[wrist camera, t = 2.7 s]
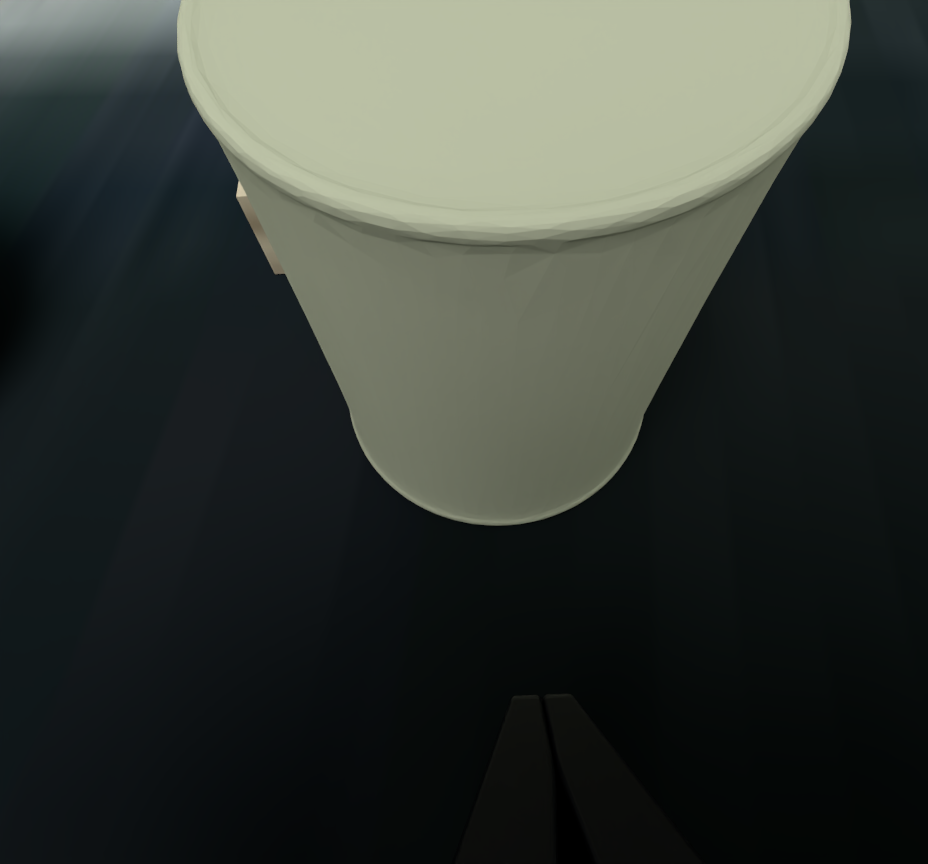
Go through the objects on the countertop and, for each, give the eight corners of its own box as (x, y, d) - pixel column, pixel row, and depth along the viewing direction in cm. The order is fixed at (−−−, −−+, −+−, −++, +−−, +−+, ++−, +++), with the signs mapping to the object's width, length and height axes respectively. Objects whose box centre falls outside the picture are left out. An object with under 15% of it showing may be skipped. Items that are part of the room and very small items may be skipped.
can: (560, 236, 21) (639, -268, 10) (701, 454, 17) (1067, 34, 6) (314, 324, 20) (101, -139, 9) (410, 578, 16) (246, 324, 5)
